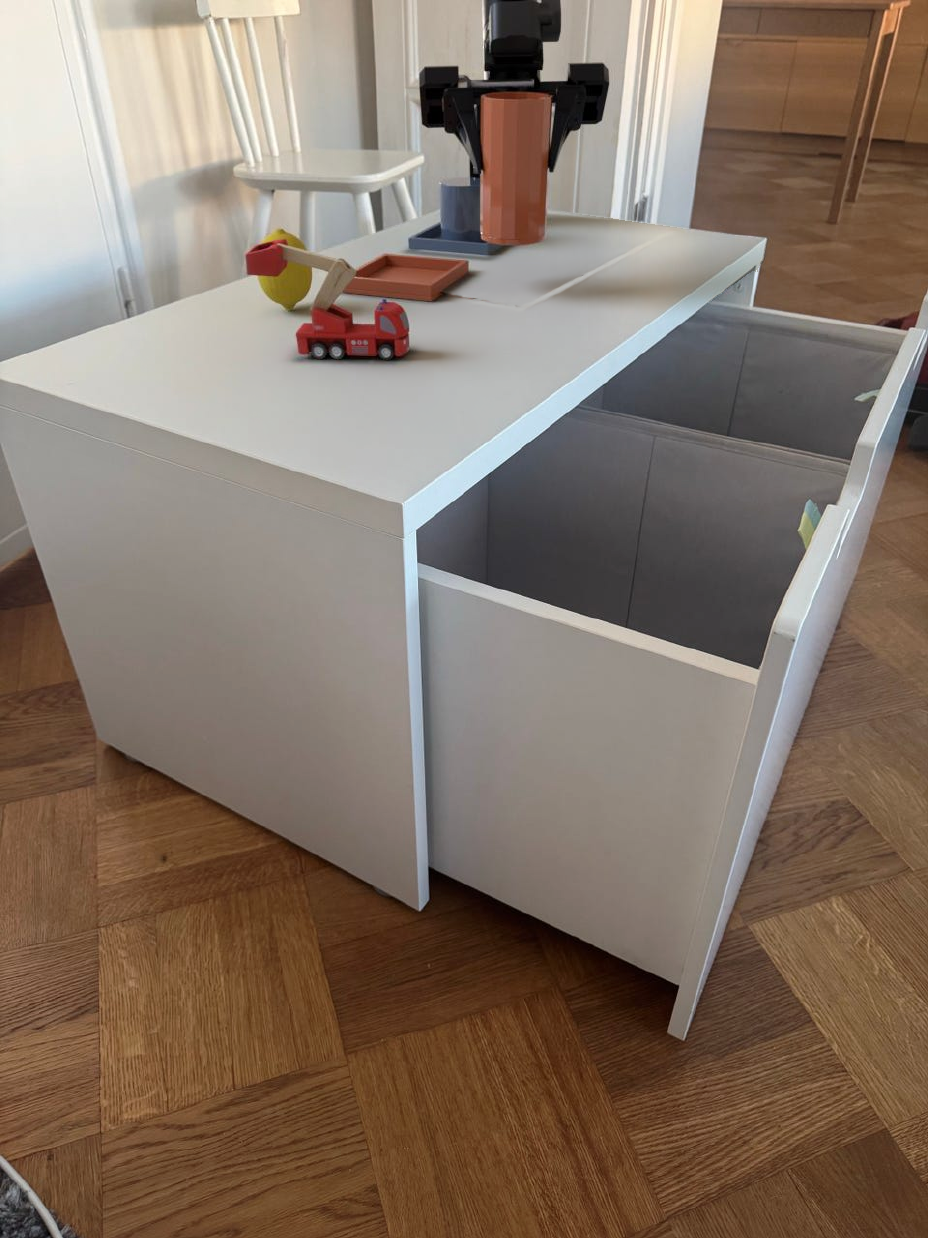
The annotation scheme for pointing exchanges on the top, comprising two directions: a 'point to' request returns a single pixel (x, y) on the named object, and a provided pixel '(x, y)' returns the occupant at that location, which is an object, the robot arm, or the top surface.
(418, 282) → the terracotta tray
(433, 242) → the slate tray
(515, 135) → the terracotta cup
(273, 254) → the toy fire truck
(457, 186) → the blue-grey drinking cup
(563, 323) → the top surface
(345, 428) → the top surface
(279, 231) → the lemon
